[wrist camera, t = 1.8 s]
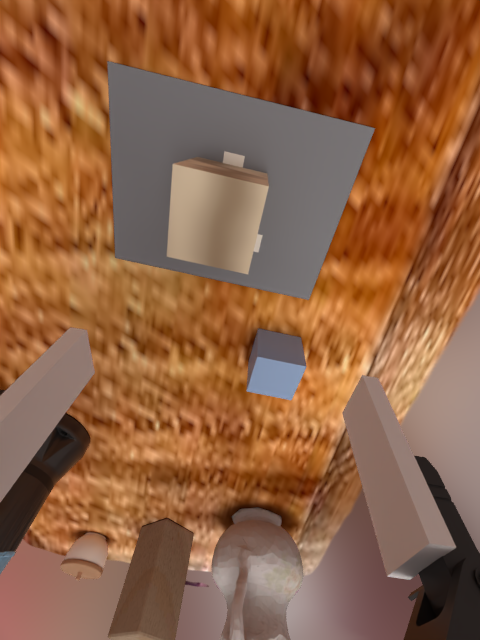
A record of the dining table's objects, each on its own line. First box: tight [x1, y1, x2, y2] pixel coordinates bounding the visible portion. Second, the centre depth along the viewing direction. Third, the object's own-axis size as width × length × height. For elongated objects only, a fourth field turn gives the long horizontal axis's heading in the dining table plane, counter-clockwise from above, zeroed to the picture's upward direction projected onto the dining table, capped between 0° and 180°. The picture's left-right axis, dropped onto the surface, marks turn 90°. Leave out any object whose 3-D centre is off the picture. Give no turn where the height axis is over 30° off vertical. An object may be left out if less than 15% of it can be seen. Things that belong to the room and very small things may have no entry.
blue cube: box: [247, 329, 306, 400], centre depth 38 cm, size 6×6×6 cm
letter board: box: [108, 61, 375, 300], centre depth 30 cm, size 24×18×1 cm
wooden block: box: [108, 519, 193, 640], centre depth 66 cm, size 10×10×20 cm
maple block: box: [167, 157, 269, 274], centre depth 26 cm, size 7×7×9 cm
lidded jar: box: [60, 532, 108, 581], centre depth 77 cm, size 11×11×9 cm
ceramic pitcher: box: [212, 507, 303, 640], centre depth 58 cm, size 22×20×25 cm
